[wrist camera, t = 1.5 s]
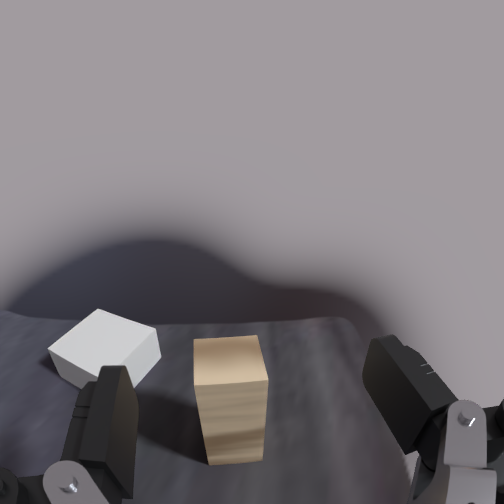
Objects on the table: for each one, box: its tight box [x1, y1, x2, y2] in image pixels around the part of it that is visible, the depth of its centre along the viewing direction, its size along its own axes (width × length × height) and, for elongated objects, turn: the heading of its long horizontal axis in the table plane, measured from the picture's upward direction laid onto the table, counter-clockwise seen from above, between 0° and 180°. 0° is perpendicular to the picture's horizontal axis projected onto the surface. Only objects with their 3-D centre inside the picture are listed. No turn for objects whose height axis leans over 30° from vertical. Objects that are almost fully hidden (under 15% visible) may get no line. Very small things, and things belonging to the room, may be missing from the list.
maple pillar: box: [194, 335, 268, 465], centre depth 25 cm, size 5×5×12 cm
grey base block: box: [48, 309, 161, 389], centre depth 35 cm, size 10×10×5 cm
